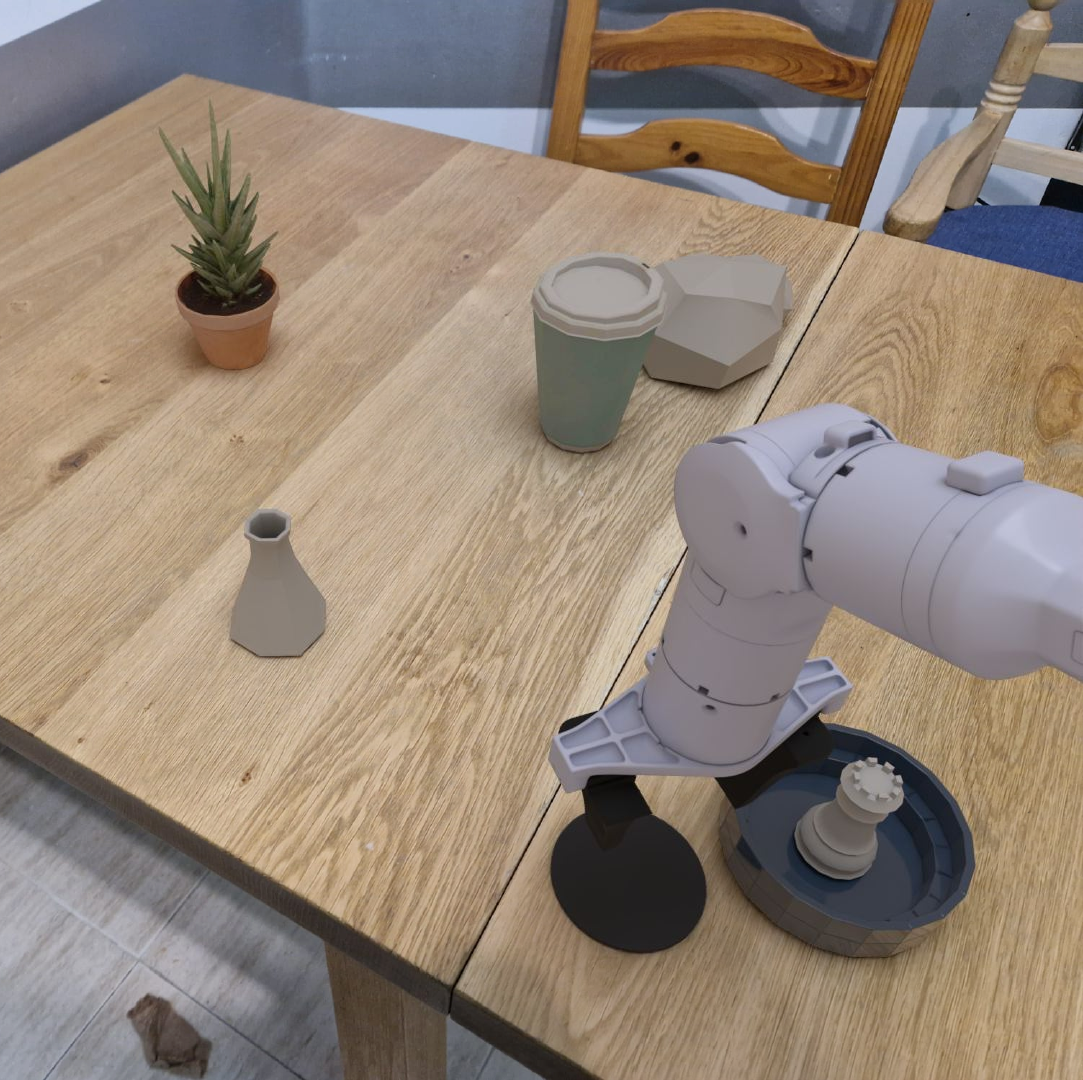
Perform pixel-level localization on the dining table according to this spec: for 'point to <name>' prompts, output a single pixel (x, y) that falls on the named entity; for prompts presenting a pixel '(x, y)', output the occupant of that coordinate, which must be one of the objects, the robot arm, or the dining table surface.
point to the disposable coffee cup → (592, 343)
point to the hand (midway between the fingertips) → (665, 812)
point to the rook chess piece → (850, 820)
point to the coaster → (630, 885)
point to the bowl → (896, 873)
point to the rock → (718, 318)
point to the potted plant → (224, 265)
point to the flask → (275, 592)
